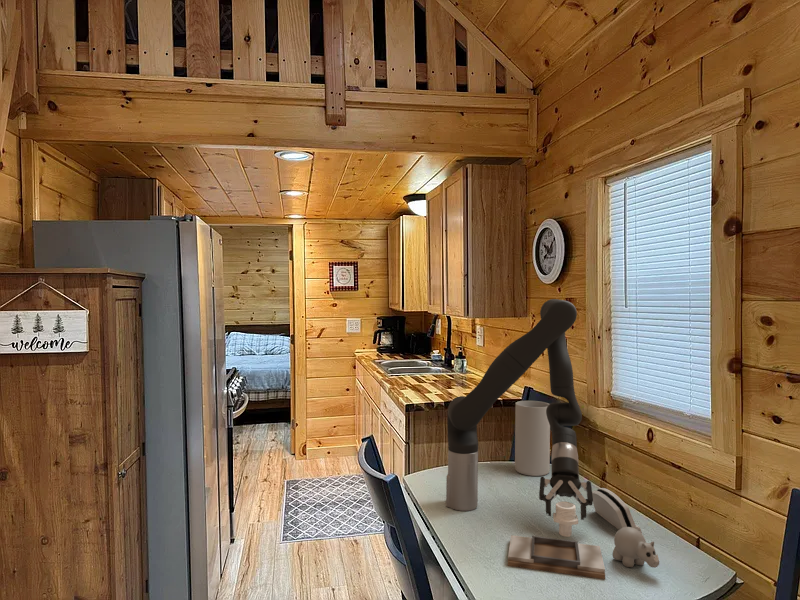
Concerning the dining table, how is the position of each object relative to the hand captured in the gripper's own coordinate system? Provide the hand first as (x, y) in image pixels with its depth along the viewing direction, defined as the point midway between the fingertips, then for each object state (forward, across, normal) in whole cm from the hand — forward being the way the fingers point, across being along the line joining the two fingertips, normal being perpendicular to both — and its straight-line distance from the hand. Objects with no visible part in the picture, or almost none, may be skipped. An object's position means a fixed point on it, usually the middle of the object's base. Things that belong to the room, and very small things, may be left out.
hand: (566, 516), depth 145 cm
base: (+14, -3, -6) cm, 15 cm away
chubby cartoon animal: (+13, +16, -6) cm, 21 cm away
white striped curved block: (-5, +14, +13) cm, 19 cm away
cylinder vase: (-34, -10, +41) cm, 54 cm away
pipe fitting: (+3, 0, +4) cm, 5 cm away
